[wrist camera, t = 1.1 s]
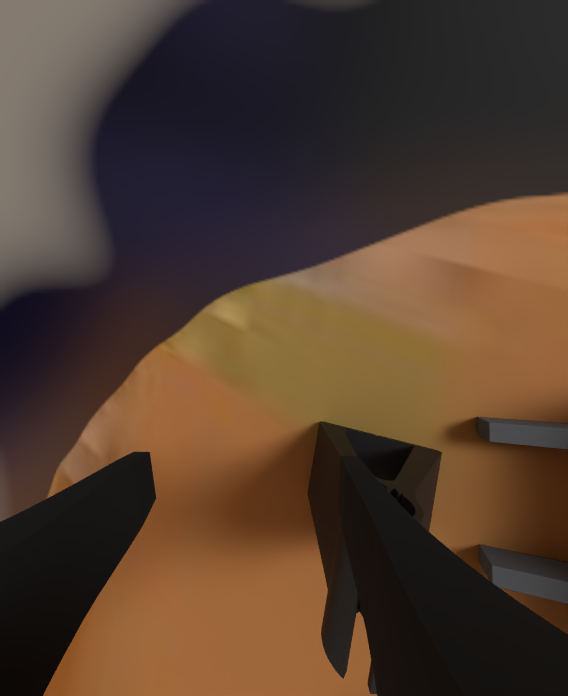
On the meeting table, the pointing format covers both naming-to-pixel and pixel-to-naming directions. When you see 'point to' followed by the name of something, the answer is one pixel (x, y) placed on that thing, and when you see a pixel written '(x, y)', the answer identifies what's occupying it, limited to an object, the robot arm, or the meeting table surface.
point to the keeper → (515, 567)
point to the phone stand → (390, 470)
